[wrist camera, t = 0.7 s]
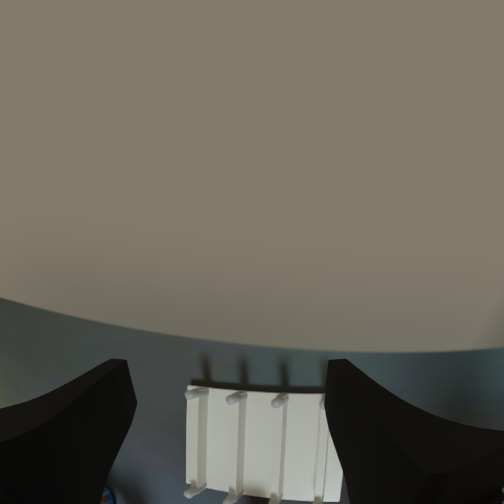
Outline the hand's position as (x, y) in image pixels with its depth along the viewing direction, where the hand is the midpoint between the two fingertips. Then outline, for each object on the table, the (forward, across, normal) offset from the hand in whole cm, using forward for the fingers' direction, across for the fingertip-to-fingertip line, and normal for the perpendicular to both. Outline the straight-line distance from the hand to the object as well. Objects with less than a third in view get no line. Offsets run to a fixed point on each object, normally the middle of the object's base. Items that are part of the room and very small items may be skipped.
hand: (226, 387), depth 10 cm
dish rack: (+16, -2, +21) cm, 26 cm away
